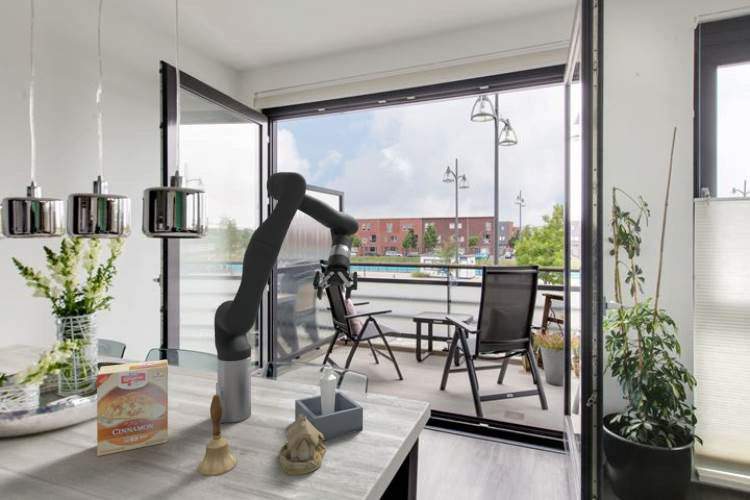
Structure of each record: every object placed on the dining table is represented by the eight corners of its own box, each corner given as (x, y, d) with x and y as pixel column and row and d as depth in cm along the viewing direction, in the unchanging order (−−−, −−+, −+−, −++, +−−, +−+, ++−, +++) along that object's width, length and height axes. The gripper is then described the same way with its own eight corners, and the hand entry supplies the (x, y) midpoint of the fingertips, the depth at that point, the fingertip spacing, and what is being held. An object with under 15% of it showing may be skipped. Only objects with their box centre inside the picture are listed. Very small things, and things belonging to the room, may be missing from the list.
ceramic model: (279, 445, 102) (279, 406, 102) (324, 441, 105) (324, 402, 104) (277, 477, 88) (278, 431, 88) (330, 472, 91) (330, 427, 91)
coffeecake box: (96, 457, 96) (95, 374, 96) (100, 443, 102) (100, 365, 102) (168, 443, 103) (168, 365, 103) (167, 431, 109) (167, 358, 109)
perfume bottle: (333, 426, 111) (334, 370, 110) (318, 424, 112) (318, 369, 111) (338, 418, 115) (338, 365, 115) (323, 417, 116) (323, 364, 116)
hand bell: (197, 479, 87) (197, 405, 87) (197, 460, 95) (197, 391, 95) (238, 471, 91) (238, 399, 90) (235, 453, 98) (235, 387, 98)
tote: (314, 442, 104) (314, 418, 104) (295, 421, 116) (295, 400, 116) (362, 429, 111) (362, 407, 111) (340, 411, 123) (340, 391, 123)
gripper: (317, 253, 139) (308, 291, 127) (359, 253, 138) (354, 291, 126) (320, 267, 144) (312, 305, 133) (360, 268, 143) (356, 306, 132)
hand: (333, 298), depth 130 cm, fingers open, 8 cm apart
